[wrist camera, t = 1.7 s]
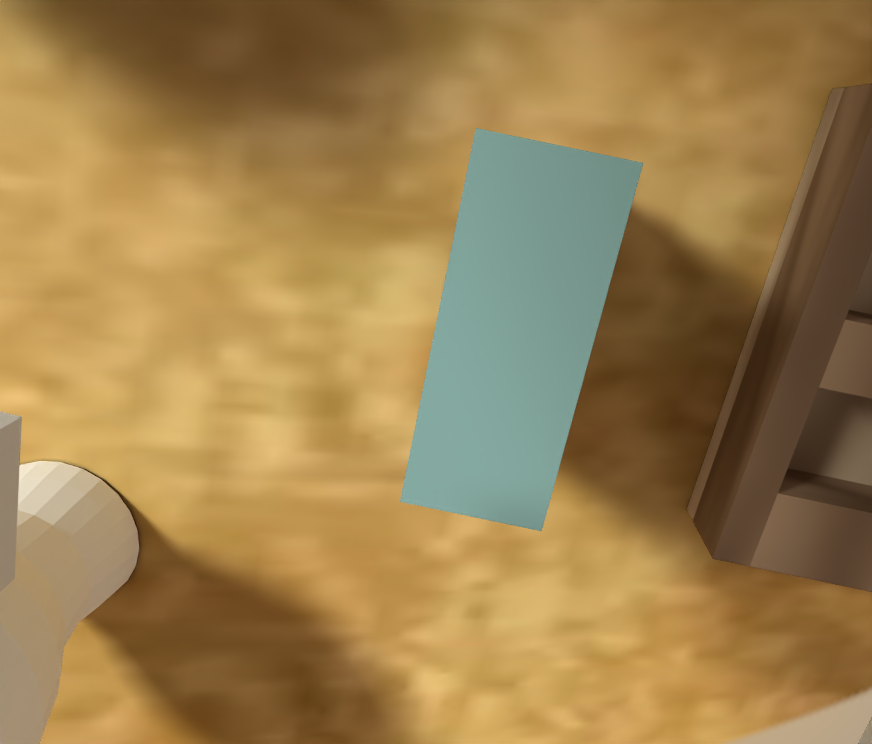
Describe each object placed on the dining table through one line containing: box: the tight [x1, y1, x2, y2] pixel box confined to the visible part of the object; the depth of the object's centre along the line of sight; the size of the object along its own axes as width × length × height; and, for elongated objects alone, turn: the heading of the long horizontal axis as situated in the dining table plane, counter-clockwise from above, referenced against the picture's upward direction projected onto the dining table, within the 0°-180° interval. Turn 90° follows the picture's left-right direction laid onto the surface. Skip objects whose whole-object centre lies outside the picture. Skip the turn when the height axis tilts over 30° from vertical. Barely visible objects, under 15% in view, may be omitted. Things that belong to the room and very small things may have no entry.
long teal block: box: [400, 128, 643, 531], centre depth 24 cm, size 4×10×12 cm, turn 169°
